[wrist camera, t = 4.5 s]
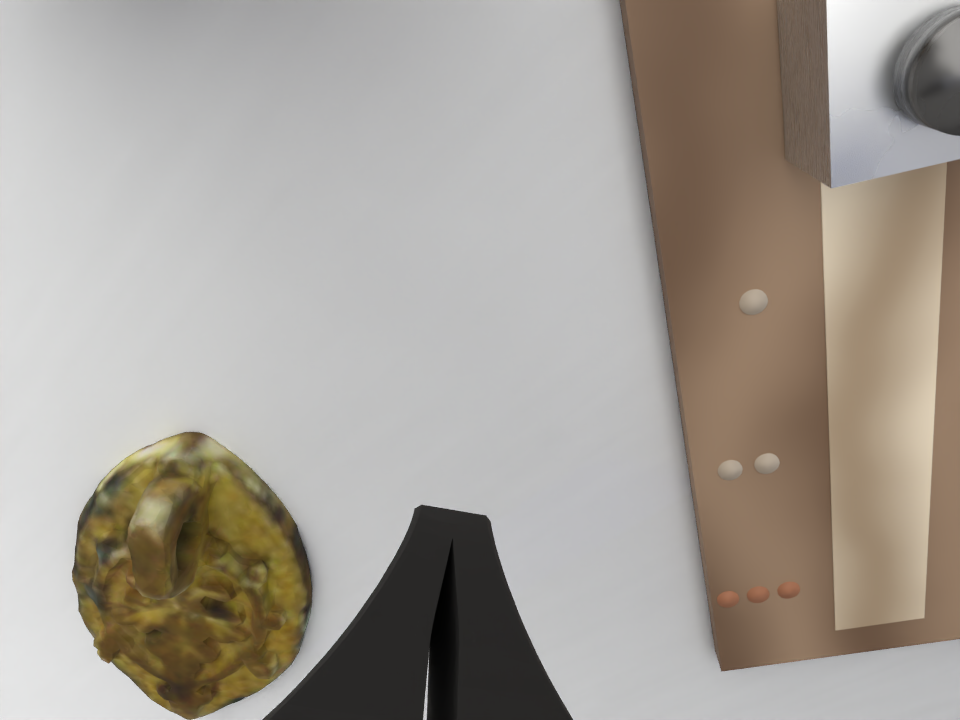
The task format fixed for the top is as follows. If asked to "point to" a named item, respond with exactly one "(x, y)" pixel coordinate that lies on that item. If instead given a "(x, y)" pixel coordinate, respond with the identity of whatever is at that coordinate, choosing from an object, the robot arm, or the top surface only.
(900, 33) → the knob
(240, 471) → the seal
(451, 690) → the robot arm
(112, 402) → the top surface
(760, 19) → the counting board
